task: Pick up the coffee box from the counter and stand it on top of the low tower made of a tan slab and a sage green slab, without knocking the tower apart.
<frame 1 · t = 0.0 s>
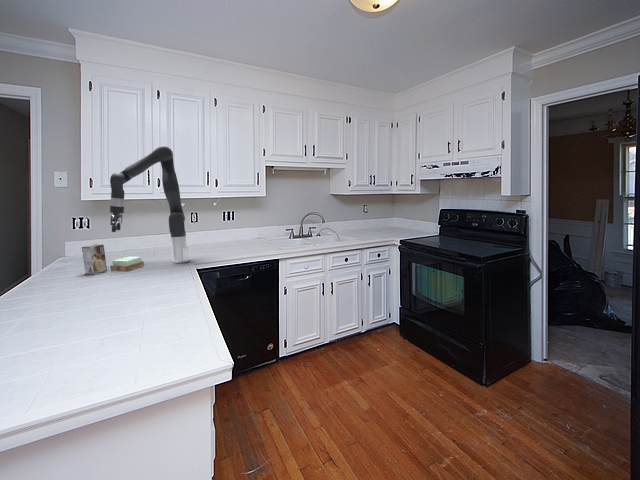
hand: (116, 231, 202), 22 cm above the worktop, tool pointing down, fingers open, 8 cm apart
bottom slab: (128, 269, 199), on the worktop
top slab: (127, 263, 199), point 3 cm above the worktop
coffee box: (96, 272, 190), on the worktop
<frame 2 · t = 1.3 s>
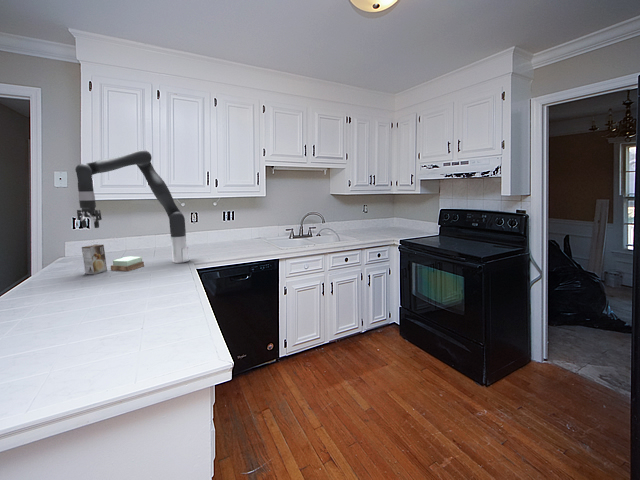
hand: (90, 227, 186), 27 cm above the worktop, tool pointing down, fingers open, 8 cm apart
bottom slab: (128, 269, 199), on the worktop, touching top slab
top slab: (128, 263, 199), point 3 cm above the worktop, touching bottom slab
everything else where it was.
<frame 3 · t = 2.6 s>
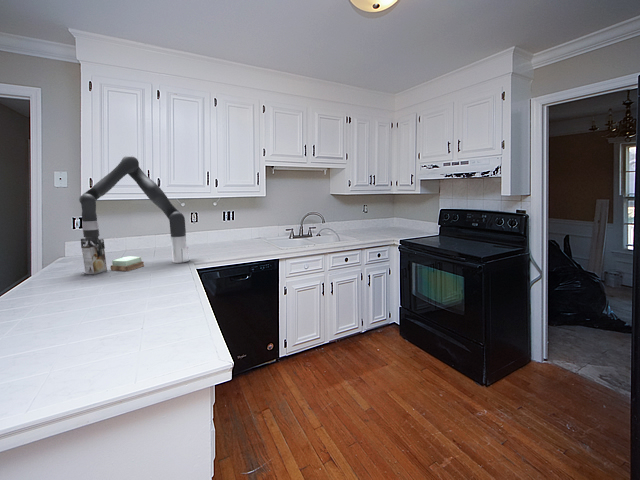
hand: (94, 256, 188), 10 cm above the worktop, tool pointing down, fingers open, 8 cm apart
bottom slab: (128, 269, 199), on the worktop
top slab: (127, 263, 199), point 3 cm above the worktop
everything else where it was.
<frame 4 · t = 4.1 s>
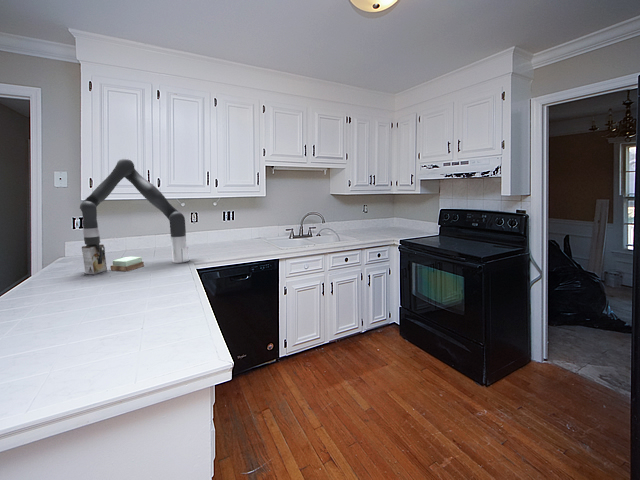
hand: (95, 263, 189), 5 cm above the worktop, tool pointing down, fingers closed on coffee box, 6 cm apart
bottom slab: (128, 269, 199), on the worktop, touching top slab
top slab: (127, 263, 199), point 3 cm above the worktop, touching bottom slab
coffee box: (96, 272, 190), on the worktop, touching gripper
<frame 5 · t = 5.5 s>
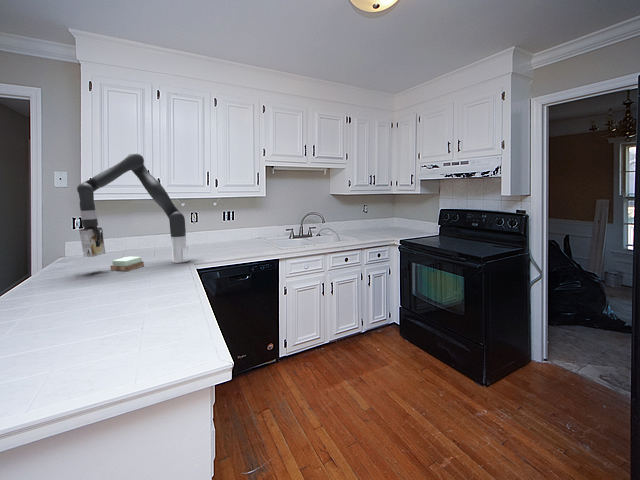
hand: (93, 246, 188), 15 cm above the worktop, tool pointing down, fingers closed on coffee box, 6 cm apart
coffee box: (94, 255, 188), point 10 cm above the worktop, touching gripper
everything else where it was.
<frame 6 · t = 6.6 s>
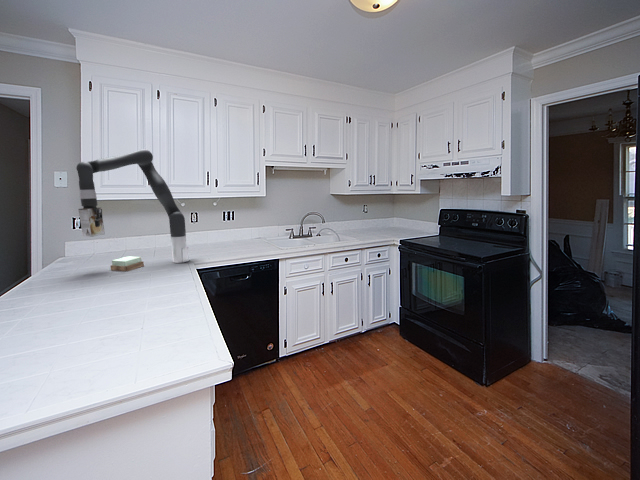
hand: (92, 226, 186), 27 cm above the worktop, tool pointing down, fingers closed on coffee box, 6 cm apart
bottom slab: (127, 269, 199), on the worktop
top slab: (127, 263, 199), point 3 cm above the worktop
coffee box: (94, 235, 187), point 22 cm above the worktop, touching gripper
when the fingers open (13 cm above the worktop, at t = 10.1 s): coffee box drops 2 cm, resting on top slab.
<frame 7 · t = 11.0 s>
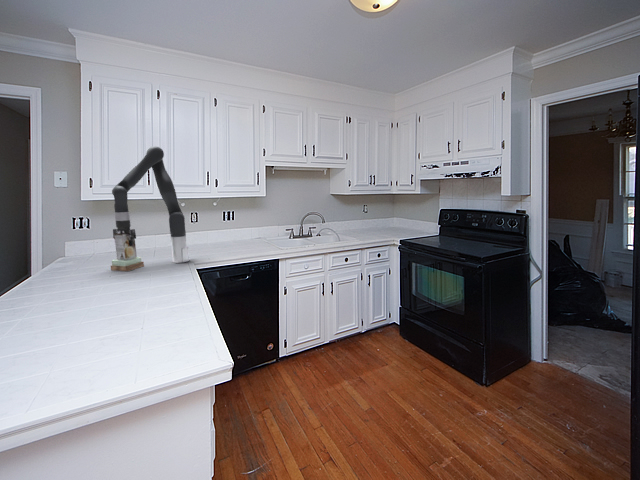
hand: (125, 245, 197), 14 cm above the worktop, tool pointing down, fingers open, 8 cm apart
bottom slab: (128, 269, 199), on the worktop, touching top slab
top slab: (127, 263, 199), point 3 cm above the worktop, touching bottom slab, coffee box
coffee box: (127, 259, 198), point 6 cm above the worktop, touching top slab
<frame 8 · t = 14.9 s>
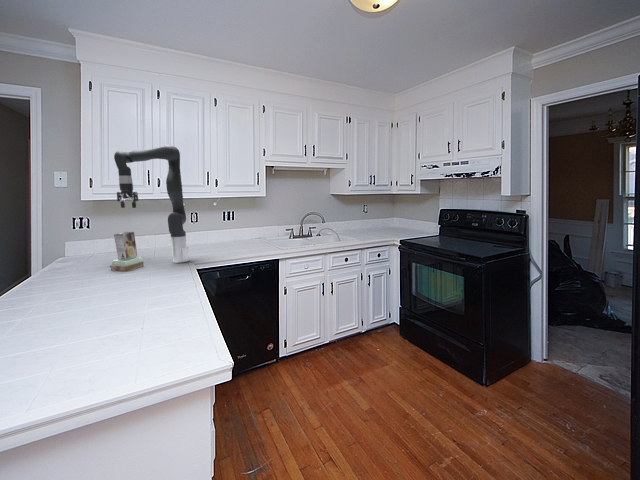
hand: (128, 207, 212), 36 cm above the worktop, tool pointing down, fingers open, 8 cm apart
nothing on the worktop moved.
at the end: coffee box 0.4 cm off-centre on the top slab, point 3.0 cm above the top slab's base; coffee box tilted 2°; top slab 0.4 cm off-centre on the bottom slab, point 3.5 cm above the bottom slab's base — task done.
